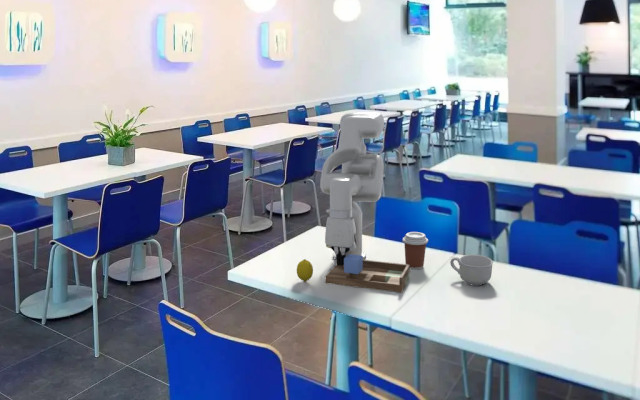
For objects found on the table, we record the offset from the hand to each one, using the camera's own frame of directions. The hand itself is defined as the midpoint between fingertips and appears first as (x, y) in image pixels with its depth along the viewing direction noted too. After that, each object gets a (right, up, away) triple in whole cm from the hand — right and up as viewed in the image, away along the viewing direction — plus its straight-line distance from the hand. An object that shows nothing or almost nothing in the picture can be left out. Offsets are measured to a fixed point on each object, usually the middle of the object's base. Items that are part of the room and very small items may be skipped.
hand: (340, 264), depth 197 cm
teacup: (+44, -5, -6) cm, 44 cm away
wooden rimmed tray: (+9, -5, -5) cm, 11 cm away
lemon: (-12, -5, -5) cm, 14 cm away
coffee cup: (+27, -2, +9) cm, 28 cm away
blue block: (+4, -2, -2) cm, 5 cm away
